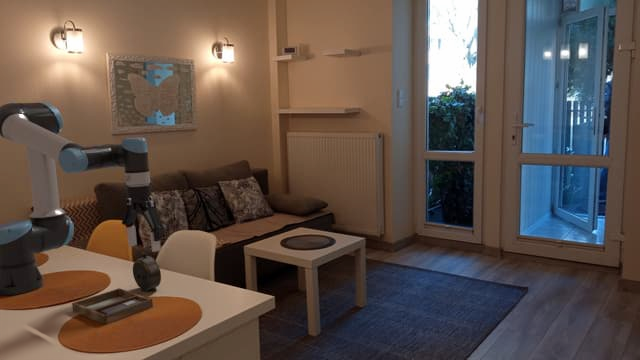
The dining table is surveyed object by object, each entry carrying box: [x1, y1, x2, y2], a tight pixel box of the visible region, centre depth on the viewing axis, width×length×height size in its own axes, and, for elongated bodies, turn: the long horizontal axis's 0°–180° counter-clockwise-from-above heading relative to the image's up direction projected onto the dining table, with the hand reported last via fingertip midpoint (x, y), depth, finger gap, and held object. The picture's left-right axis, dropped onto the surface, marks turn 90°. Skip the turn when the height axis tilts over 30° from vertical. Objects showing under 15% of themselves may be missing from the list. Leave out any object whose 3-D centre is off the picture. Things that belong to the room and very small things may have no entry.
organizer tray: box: [71, 287, 154, 325], centre depth 157 cm, size 18×16×3 cm
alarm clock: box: [132, 244, 162, 292], centre depth 173 cm, size 11×5×16 cm, turn 49°
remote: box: [101, 299, 141, 315], centre depth 154 cm, size 4×11×2 cm, turn 142°
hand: (144, 248), depth 172 cm, fingers open, 13 cm apart
